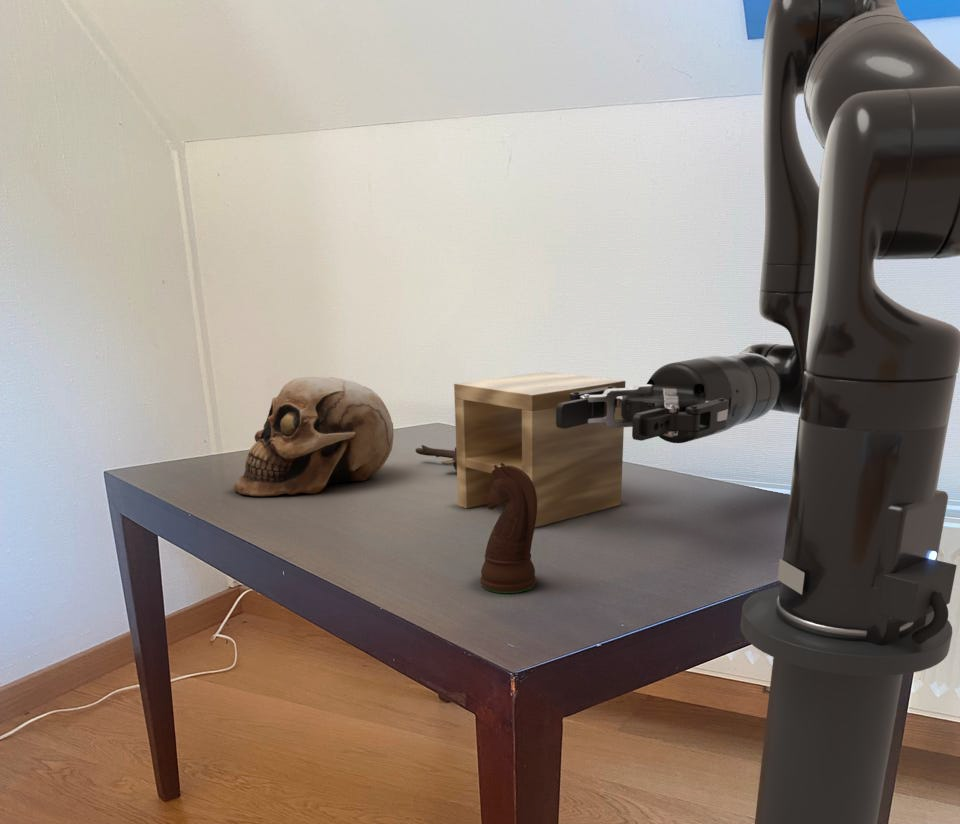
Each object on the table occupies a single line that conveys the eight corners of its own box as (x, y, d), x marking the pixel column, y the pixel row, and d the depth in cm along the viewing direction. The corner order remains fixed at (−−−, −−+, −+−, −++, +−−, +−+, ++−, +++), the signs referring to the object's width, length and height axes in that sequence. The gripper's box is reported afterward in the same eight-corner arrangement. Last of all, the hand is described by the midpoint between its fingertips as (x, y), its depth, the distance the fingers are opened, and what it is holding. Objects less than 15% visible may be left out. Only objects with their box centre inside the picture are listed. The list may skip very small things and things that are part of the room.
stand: (621, 504, 99) (625, 380, 93) (532, 528, 91) (532, 395, 86) (545, 485, 107) (545, 371, 102) (458, 506, 100) (453, 383, 95)
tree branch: (573, 435, 119) (519, 445, 107) (571, 468, 120) (517, 481, 108) (456, 425, 128) (395, 433, 116) (456, 456, 129) (395, 467, 117)
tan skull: (222, 492, 107) (217, 374, 103) (302, 476, 122) (301, 372, 118) (339, 507, 102) (339, 383, 97) (407, 488, 117) (410, 380, 113)
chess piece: (502, 571, 79) (500, 456, 75) (551, 582, 76) (552, 463, 72) (469, 586, 76) (466, 467, 72) (519, 598, 73) (518, 475, 69)
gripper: (643, 353, 93) (535, 371, 82) (770, 363, 83) (666, 384, 73) (639, 427, 96) (535, 454, 85) (762, 445, 86) (661, 477, 76)
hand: (596, 422), depth 79 cm, fingers open, 8 cm apart
